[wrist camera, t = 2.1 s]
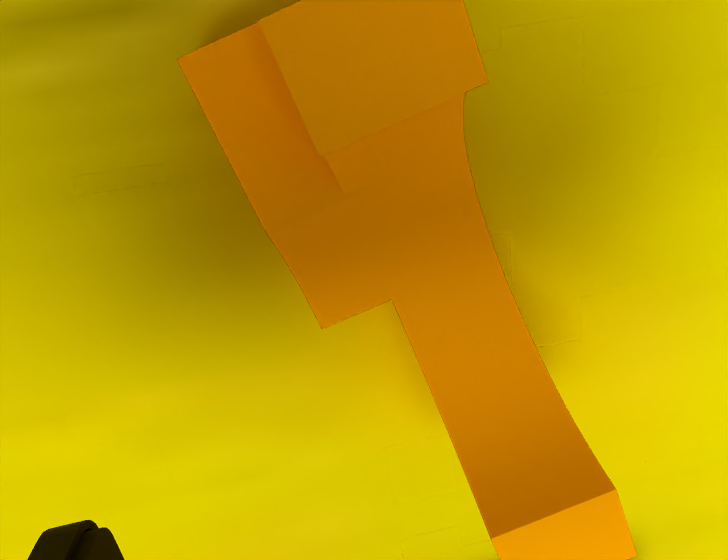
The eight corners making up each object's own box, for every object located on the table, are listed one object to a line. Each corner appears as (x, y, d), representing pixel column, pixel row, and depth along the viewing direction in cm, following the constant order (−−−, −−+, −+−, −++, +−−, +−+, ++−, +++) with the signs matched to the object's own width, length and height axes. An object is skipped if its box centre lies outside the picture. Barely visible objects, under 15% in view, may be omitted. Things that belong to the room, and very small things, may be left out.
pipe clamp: (199, 49, 14) (136, 75, 8) (377, -32, 14) (443, -64, 8) (392, 439, 19) (440, 632, 13) (526, 384, 19) (637, 555, 13)
